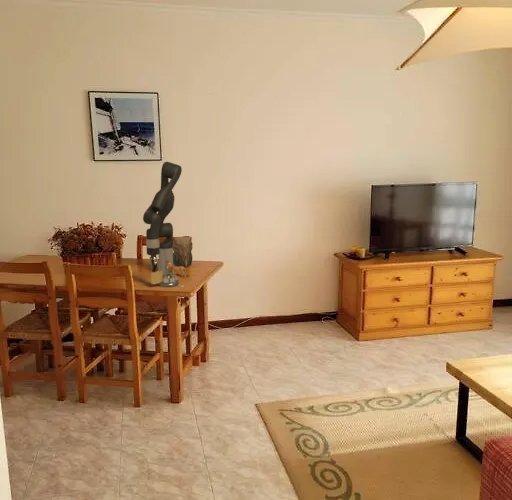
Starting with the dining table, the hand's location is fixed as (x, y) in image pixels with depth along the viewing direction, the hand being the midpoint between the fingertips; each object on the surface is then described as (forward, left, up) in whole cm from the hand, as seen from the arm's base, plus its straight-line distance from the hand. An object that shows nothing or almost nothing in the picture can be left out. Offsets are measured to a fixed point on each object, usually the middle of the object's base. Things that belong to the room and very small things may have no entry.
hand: (154, 274), depth 292 cm
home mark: (+13, +9, -7) cm, 17 cm away
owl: (-26, +44, -7) cm, 51 cm away
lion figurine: (-6, +22, -7) cm, 24 cm away
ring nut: (+4, +4, -4) cm, 7 cm away
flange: (+4, +7, -7) cm, 10 cm away
